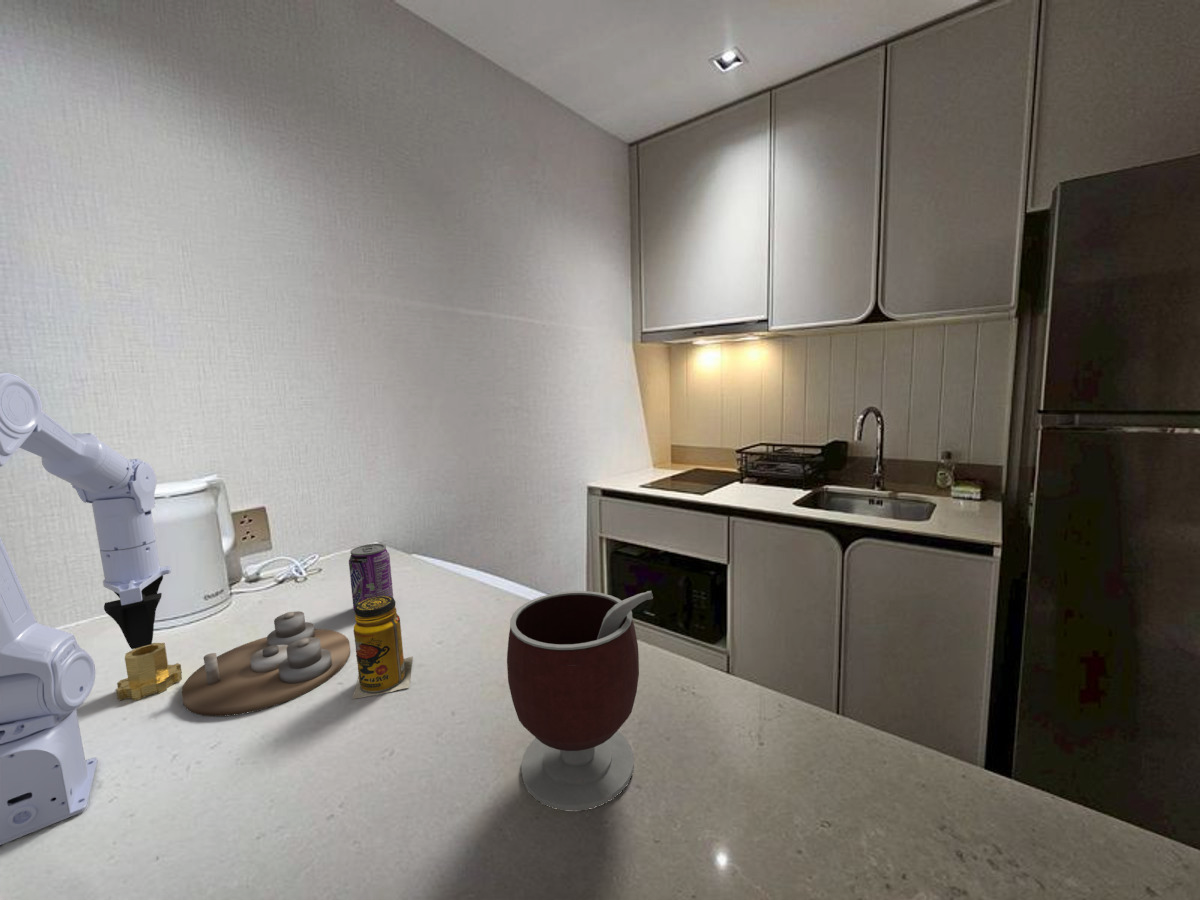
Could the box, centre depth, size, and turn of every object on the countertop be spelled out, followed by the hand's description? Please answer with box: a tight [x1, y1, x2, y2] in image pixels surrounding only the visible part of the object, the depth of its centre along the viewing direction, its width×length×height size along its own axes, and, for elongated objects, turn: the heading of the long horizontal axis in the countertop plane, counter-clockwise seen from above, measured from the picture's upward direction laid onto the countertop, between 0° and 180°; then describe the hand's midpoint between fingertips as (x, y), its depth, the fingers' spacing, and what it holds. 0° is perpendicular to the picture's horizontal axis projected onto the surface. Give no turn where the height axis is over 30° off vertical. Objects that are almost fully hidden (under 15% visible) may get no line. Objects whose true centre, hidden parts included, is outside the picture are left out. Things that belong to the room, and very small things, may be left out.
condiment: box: [351, 596, 414, 700], centre depth 71 cm, size 7×8×12 cm
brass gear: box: [115, 642, 183, 702], centre depth 71 cm, size 7×7×6 cm
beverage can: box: [348, 543, 394, 612], centre depth 94 cm, size 7×7×12 cm
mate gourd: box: [506, 590, 654, 811], centre depth 52 cm, size 16×14×20 cm
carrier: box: [181, 610, 351, 717], centre depth 74 cm, size 21×21×6 cm
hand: (143, 635), depth 70 cm, fingers open, 7 cm apart
